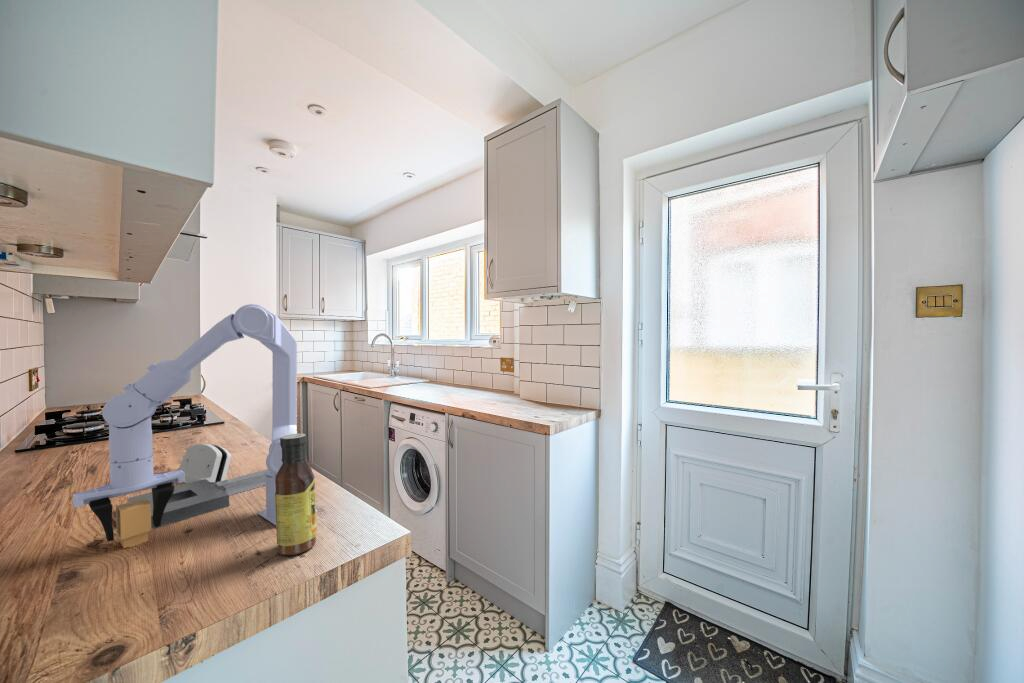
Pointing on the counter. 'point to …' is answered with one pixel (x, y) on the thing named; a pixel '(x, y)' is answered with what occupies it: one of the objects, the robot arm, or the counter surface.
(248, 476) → the grey mounting plate
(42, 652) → the counter surface
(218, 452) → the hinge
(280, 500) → the sauce bottle
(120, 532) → the wedge pin
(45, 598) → the counter surface
